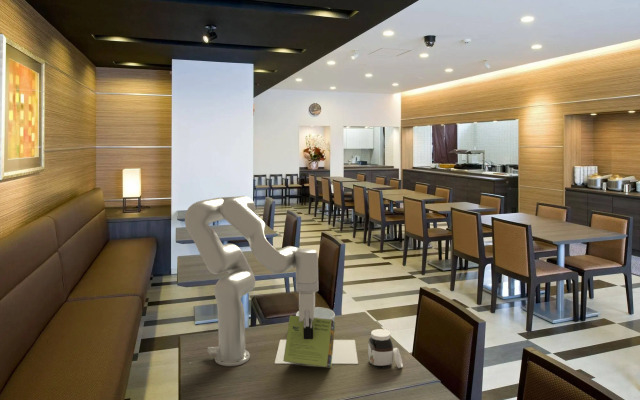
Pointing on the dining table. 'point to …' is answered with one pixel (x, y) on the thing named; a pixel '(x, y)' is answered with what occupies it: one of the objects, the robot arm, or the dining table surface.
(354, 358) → the display mat
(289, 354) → the protein box
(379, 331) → the spread jar
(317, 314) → the cereal bowl
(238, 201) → the robot arm
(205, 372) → the dining table surface
